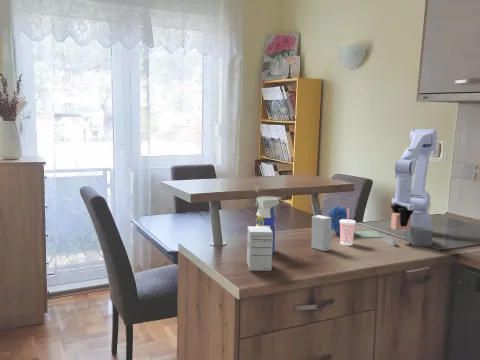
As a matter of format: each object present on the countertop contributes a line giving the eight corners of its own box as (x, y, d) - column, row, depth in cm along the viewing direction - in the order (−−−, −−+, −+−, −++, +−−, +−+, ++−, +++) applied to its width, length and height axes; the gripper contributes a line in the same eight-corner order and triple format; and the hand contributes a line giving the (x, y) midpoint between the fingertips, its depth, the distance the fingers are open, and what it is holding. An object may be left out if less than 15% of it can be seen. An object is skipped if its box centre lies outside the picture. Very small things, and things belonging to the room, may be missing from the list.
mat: (373, 231, 194) (374, 231, 194) (382, 237, 185) (382, 236, 185) (353, 231, 193) (353, 231, 193) (361, 237, 184) (361, 236, 184)
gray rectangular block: (418, 238, 184) (419, 224, 183) (431, 245, 174) (432, 230, 173) (404, 238, 183) (405, 224, 183) (416, 245, 174) (417, 230, 173)
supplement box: (246, 263, 149) (247, 225, 147) (268, 263, 149) (269, 225, 148) (248, 271, 142) (249, 231, 140) (272, 270, 142) (273, 231, 140)
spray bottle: (267, 256, 157) (269, 184, 153) (248, 250, 163) (250, 181, 159) (281, 251, 163) (284, 182, 159) (263, 246, 169) (265, 179, 165)
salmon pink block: (405, 227, 180) (406, 212, 179) (410, 230, 176) (411, 215, 175) (390, 227, 179) (391, 212, 178) (395, 230, 175) (396, 215, 174)
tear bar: (384, 239, 182) (384, 234, 182) (395, 246, 173) (395, 241, 172) (381, 239, 182) (382, 234, 182) (393, 246, 172) (393, 241, 172)
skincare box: (331, 249, 166) (332, 217, 164) (323, 251, 163) (324, 219, 162) (318, 245, 171) (319, 214, 169) (310, 247, 168) (311, 215, 166)
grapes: (333, 237, 183) (334, 208, 181) (323, 233, 189) (324, 205, 187) (355, 234, 188) (357, 206, 186) (345, 231, 194) (346, 203, 192)
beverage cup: (334, 242, 176) (336, 207, 174) (346, 240, 179) (348, 206, 177) (345, 246, 170) (347, 210, 168) (357, 244, 173) (360, 209, 171)
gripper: (385, 187, 182) (383, 220, 184) (402, 193, 167) (399, 229, 169) (402, 187, 183) (399, 220, 184) (420, 193, 168) (417, 229, 170)
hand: (400, 224), depth 177 cm, fingers closed on salmon pink block, 4 cm apart
